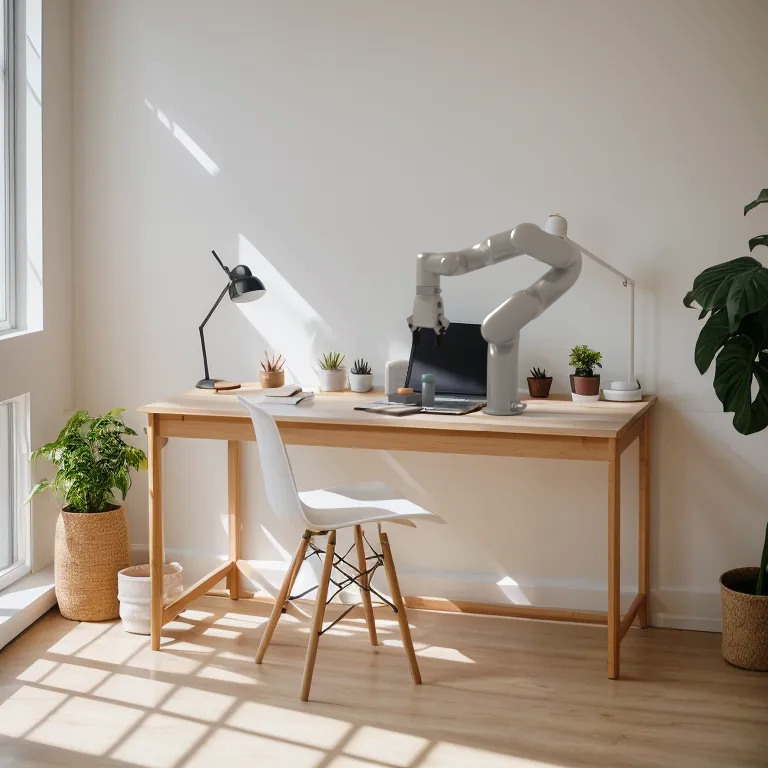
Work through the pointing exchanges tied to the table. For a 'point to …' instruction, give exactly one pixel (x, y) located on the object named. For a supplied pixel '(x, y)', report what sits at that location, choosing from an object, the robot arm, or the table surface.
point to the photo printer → (395, 375)
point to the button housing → (405, 398)
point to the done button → (405, 391)
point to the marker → (428, 390)
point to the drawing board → (394, 410)
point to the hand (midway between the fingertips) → (427, 345)
